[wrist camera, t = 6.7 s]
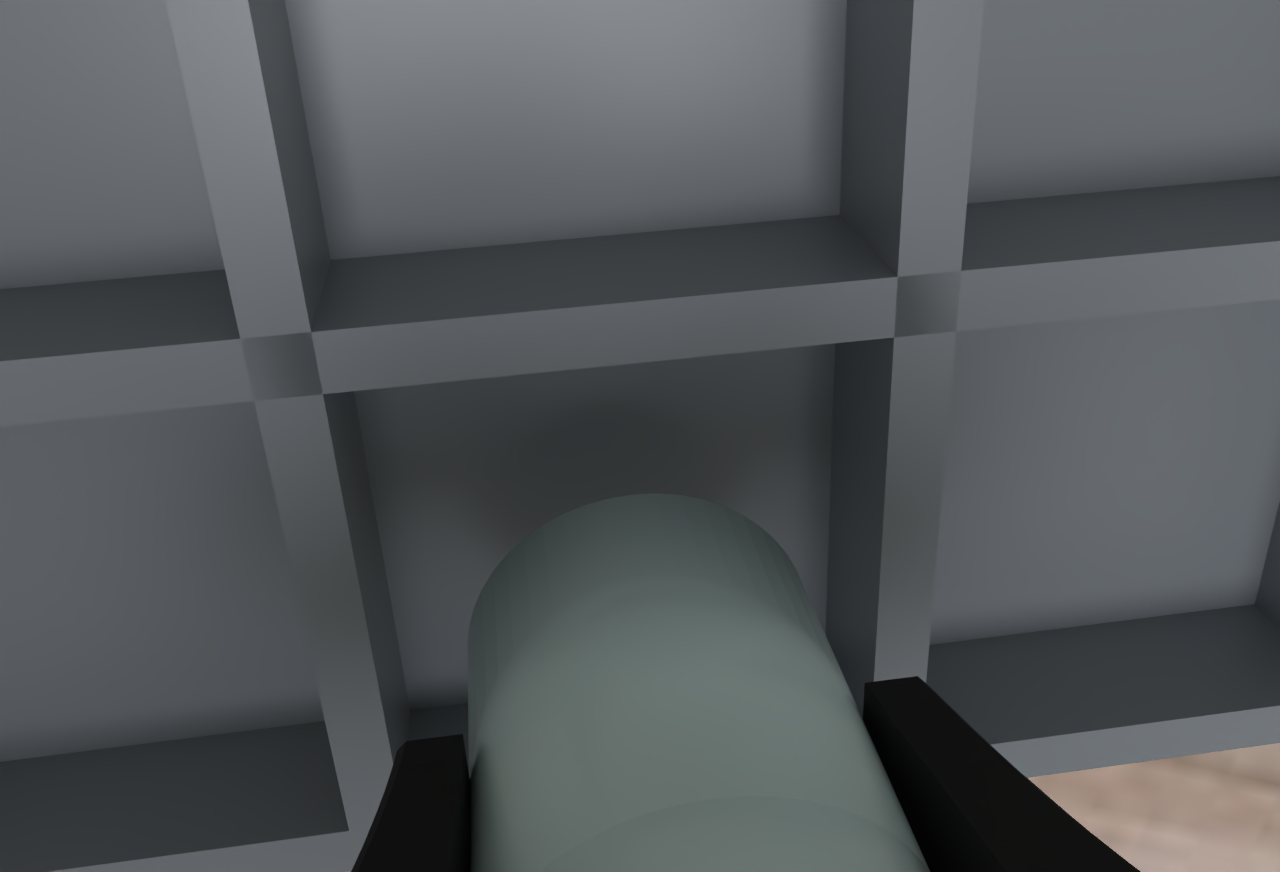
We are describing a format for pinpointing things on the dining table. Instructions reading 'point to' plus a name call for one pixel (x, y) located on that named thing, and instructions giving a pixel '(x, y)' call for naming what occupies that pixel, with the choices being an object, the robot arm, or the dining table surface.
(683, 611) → the sage green capsule
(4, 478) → the tray
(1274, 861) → the dining table surface
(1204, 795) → the dining table surface
